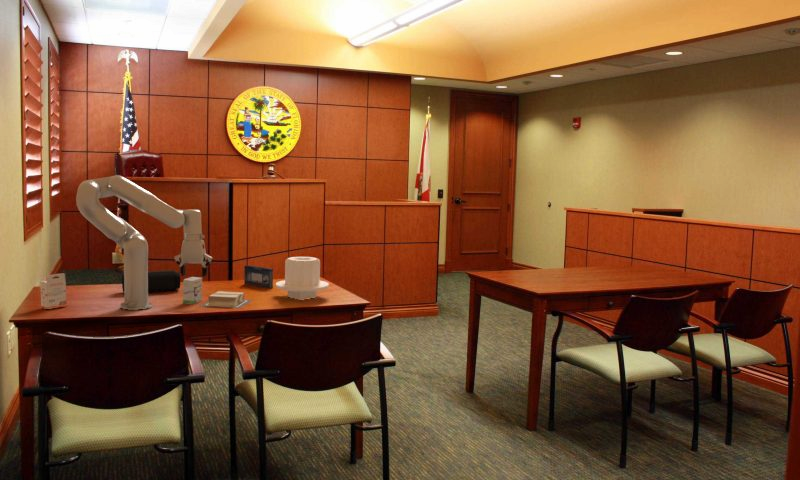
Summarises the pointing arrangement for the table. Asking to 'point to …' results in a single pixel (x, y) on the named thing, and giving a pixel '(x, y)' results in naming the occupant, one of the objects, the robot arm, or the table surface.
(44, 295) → the ink cartridge box
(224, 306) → the blueprint mat
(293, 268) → the ribbed cylinder on disc
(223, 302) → the base block
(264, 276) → the vhs cassette tape
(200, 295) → the ink box
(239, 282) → the table surface
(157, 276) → the portable speaker
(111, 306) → the table surface
